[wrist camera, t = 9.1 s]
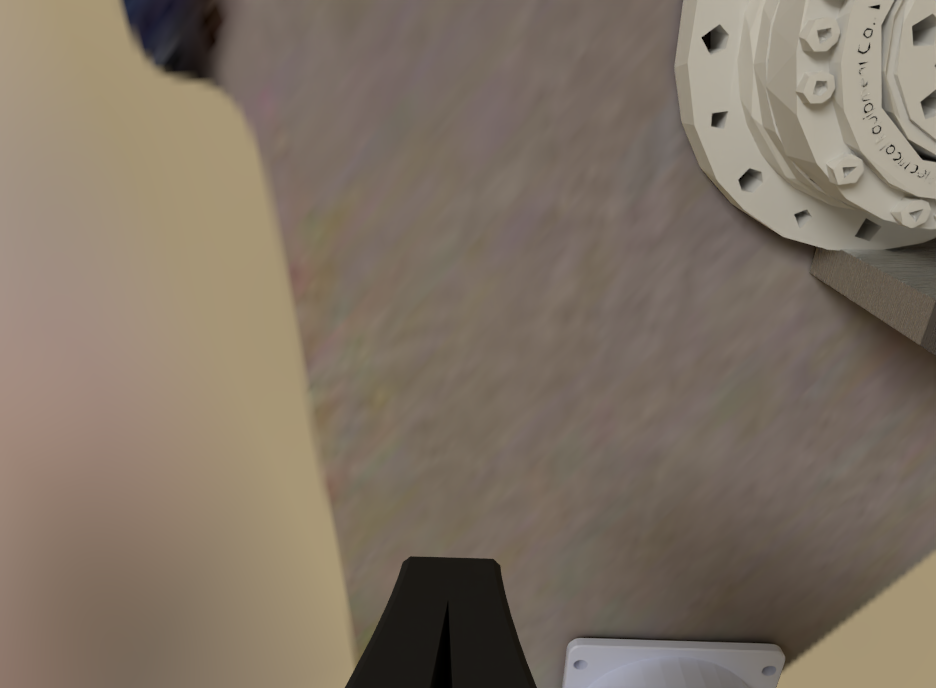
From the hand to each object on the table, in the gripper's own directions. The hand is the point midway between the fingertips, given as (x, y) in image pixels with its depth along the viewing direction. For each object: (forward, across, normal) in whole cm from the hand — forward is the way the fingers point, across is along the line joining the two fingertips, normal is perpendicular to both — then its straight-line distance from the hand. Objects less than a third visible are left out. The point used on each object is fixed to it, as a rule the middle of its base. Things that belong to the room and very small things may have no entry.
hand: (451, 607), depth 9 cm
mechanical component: (+10, -10, -8) cm, 17 cm away
